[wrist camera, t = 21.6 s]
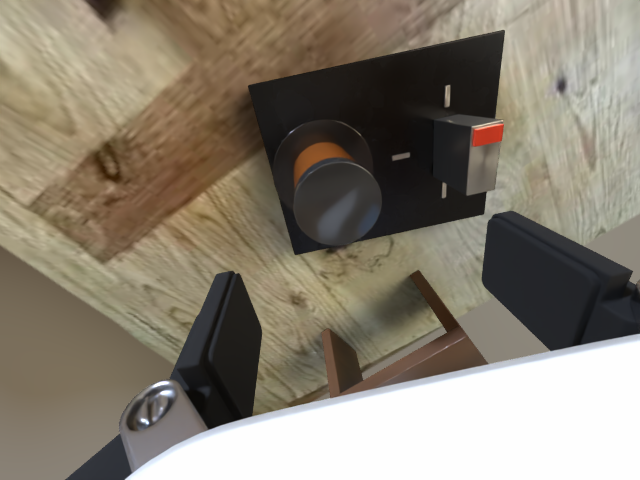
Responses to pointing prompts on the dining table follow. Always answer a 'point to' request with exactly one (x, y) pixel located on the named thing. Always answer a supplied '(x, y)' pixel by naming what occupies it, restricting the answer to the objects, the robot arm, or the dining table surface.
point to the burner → (308, 136)
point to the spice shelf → (425, 362)
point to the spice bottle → (334, 195)
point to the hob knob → (467, 152)
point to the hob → (391, 123)
